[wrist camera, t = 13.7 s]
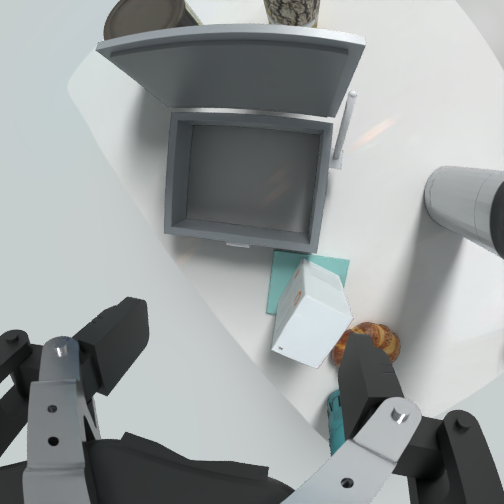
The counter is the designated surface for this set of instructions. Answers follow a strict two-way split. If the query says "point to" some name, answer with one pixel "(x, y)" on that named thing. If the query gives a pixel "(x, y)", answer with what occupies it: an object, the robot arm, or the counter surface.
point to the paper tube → (293, 12)
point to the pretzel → (379, 337)
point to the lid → (241, 66)
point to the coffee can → (148, 17)
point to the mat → (287, 265)
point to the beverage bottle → (335, 422)
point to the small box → (311, 315)
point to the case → (239, 233)
